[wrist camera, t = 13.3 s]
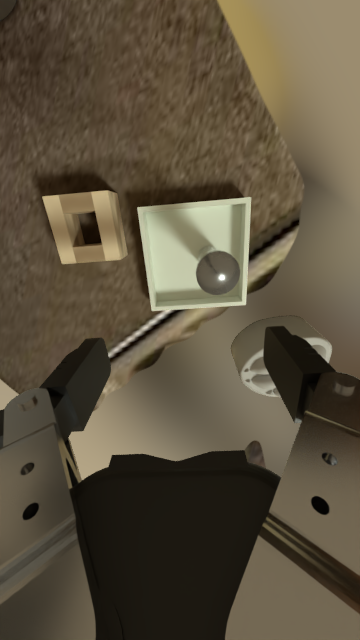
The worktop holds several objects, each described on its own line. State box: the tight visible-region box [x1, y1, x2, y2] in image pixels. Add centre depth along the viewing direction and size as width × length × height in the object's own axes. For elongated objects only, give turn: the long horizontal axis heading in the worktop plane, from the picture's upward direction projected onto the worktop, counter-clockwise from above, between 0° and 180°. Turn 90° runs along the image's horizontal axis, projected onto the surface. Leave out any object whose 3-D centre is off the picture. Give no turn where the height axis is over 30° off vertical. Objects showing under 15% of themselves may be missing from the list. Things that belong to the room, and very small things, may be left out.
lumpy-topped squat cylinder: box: [231, 316, 332, 398], centre depth 35 cm, size 10×13×9 cm
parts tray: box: [137, 197, 251, 311], centre depth 32 cm, size 14×14×3 cm
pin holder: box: [42, 190, 128, 264], centre depth 30 cm, size 8×8×4 cm
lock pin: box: [196, 246, 240, 295], centre depth 28 cm, size 4×4×11 cm
